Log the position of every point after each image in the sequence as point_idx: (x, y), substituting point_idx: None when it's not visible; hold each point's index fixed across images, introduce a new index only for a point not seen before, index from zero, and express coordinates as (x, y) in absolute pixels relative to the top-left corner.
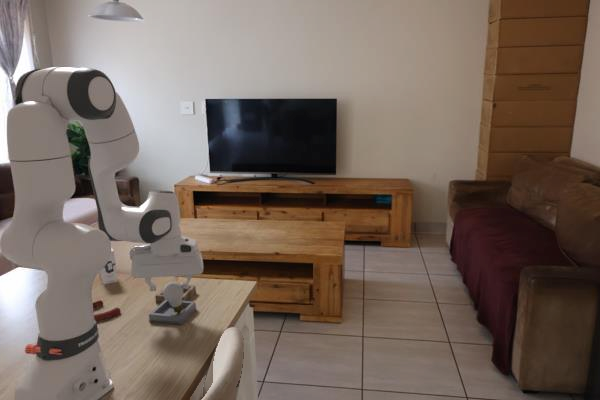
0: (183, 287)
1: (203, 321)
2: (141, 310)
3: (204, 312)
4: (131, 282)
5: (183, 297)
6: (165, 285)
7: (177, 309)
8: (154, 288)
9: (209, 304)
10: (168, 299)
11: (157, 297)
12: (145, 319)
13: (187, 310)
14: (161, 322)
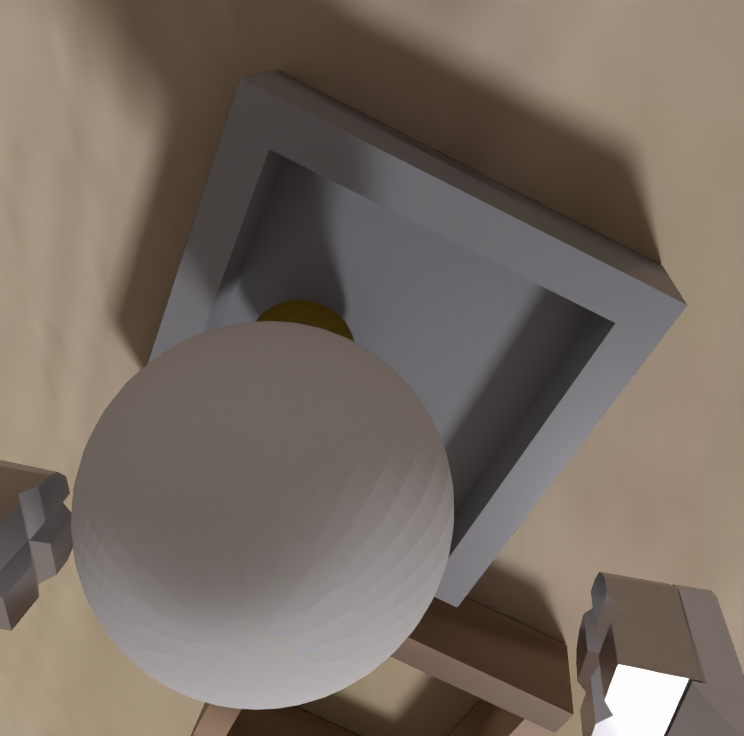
0: (22, 489)
1: (28, 99)
2: (727, 554)
3: (64, 312)
4: None
5: None
6: (368, 632)
7: (298, 316)
8: (617, 614)
9: (52, 457)
10: (359, 347)
11: (549, 686)
12: (704, 345)
13: (179, 275)
14: (515, 193)
